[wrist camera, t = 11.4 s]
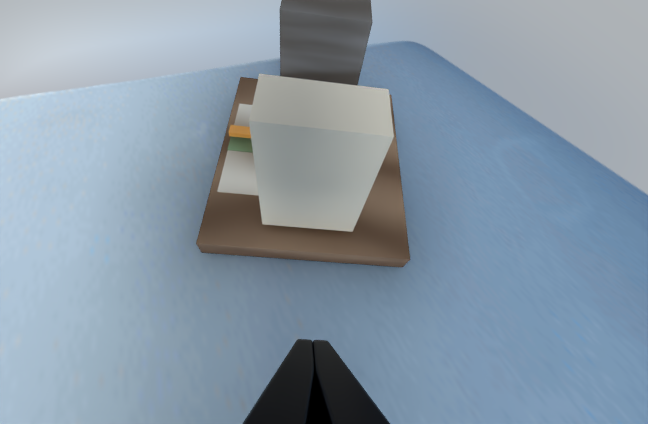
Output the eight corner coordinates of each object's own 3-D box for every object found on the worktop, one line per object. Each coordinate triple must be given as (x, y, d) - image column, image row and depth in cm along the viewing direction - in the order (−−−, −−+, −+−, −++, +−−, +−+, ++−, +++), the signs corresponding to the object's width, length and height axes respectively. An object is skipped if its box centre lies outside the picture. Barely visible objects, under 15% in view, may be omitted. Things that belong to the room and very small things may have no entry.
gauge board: (402, 267, 22) (473, 194, 14) (201, 252, 21) (148, 163, 13) (386, 107, 30) (424, 2, 22) (242, 90, 29) (226, -26, 21)
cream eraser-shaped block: (352, 231, 21) (393, 136, 13) (262, 224, 20) (248, 120, 12) (351, 152, 24) (383, 39, 16) (274, 144, 24) (270, 24, 16)
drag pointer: (297, 144, 24) (298, 124, 22) (229, 137, 23) (224, 116, 22) (298, 134, 24) (299, 114, 23) (231, 127, 24) (227, 106, 22)
